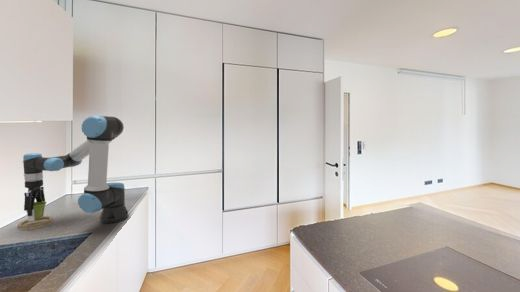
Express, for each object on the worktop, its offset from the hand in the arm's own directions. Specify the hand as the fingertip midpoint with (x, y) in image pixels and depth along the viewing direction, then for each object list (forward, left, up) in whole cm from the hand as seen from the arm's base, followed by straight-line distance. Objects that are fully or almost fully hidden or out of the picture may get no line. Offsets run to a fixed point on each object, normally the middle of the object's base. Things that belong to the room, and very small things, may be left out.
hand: (35, 217), depth 131 cm
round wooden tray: (0, 0, -4) cm, 4 cm away
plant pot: (0, 0, 0) cm, 1 cm away
